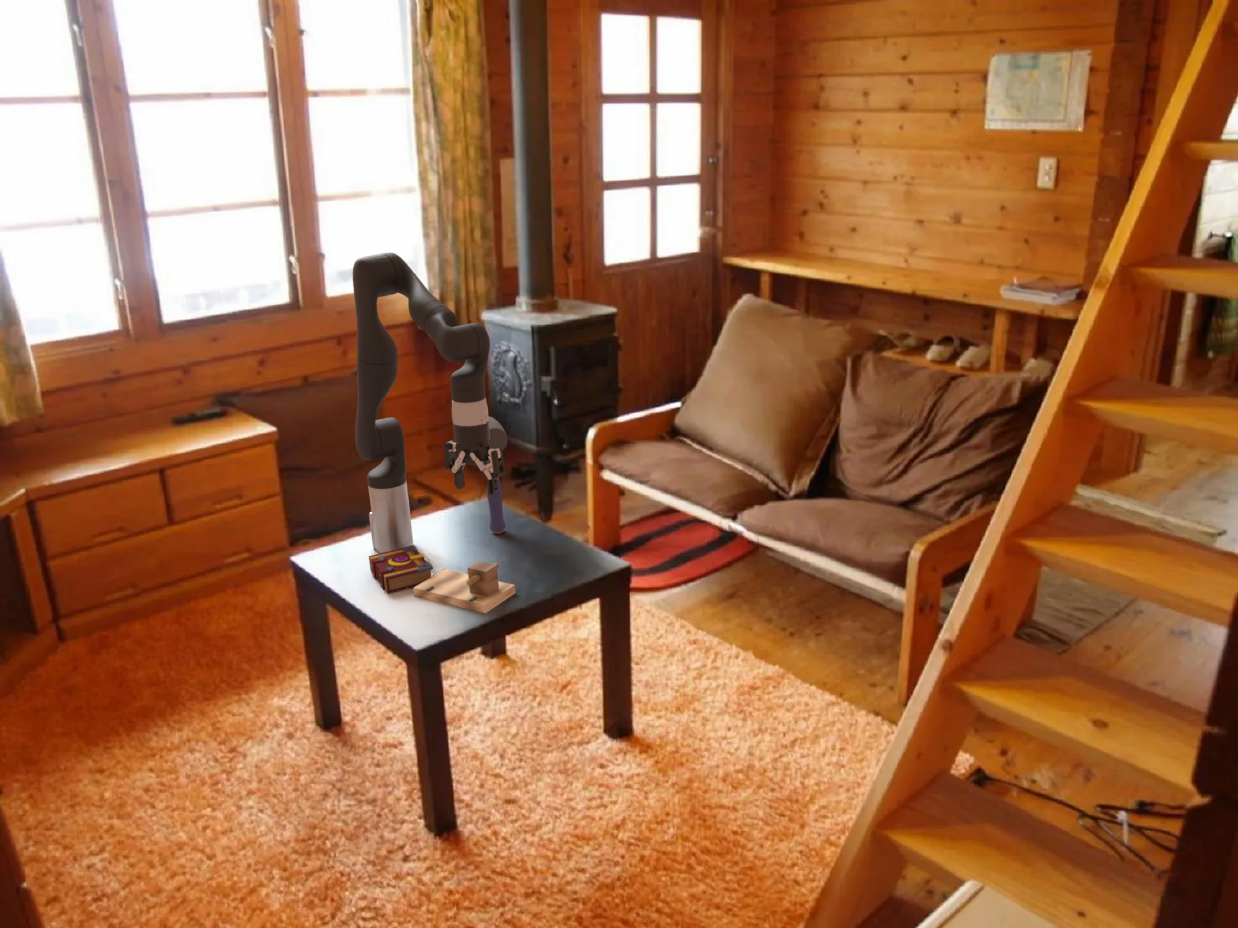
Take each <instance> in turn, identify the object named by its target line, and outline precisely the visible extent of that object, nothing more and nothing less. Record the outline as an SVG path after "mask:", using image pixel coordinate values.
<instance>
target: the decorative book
mask: <svg viewBox="0 0 1238 928" xmlns="http://www.w3.org/2000/svg"><path fill="white" fill-rule="evenodd" d="M368 560H369V568H370V569H369V570H370V572H371V573H372V577H373V579H374V580H377V582H379V584H380V588H381V589H382V590H383V591H384V590H385V591H386V592H387V594H391V593H395V592H400V591H404V590H408V589H411V588H412V589H413V588H414V587H416V586H417V585H419V584H421V583H422V582H424V581H426V580H427V579H429V578H431V577H432V571H433V570H434V566H433V565H432V564H431V563H430V561H427V560H426V559H425V555H424V554H423V553H420V552H419V550H418V549H417V547H416V546H415V545H414V544H413V545H411V546H407V547H403V548H398V550H393V551H389V552H385V553H377V554H371V555H368Z"/></svg>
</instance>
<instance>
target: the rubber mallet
mask: <svg viewBox="0 0 1238 928" xmlns="http://www.w3.org/2000/svg"><path fill="white" fill-rule="evenodd" d="M488 419H489V432H490V439H489V446H490V448H491V449H498V448H501V449H502V452H503V451H504V450H505V449H506V447H507V444H508V436H507V433H506V431H505V429H504V427H503V426H502V424H501V423H500V422H499V421H497V420H496V419H495V418H494V417H493V416H489V415H488ZM489 456H490V455H489ZM490 457H491V456H490ZM491 460H492V459H491ZM489 471H490V470H489ZM490 472H491V471H490ZM497 483H498V491H497V492H496V494H494V495H492V496H491V495H488V489H487V488H486V491H487V492H486V493H487V502H488V506H489V507H488V508H489V517H490V518H489V519H490V521H489V529H490V531H491V532H492V533H493V534H501V533H503V532H504V530H505V529H506V523H505V520H504V512H503V500H504V499H503V489H502V483H501V480H500V477H498V478H497Z"/></svg>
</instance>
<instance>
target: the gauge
mask: <svg viewBox="0 0 1238 928" xmlns="http://www.w3.org/2000/svg"><path fill="white" fill-rule="evenodd" d="M499 567H500V565H499V563H498V562H494V563H489V562H484V561H476V562H475V563H473V564H472V565H469V566H468V567H467V574H468V578H469V579H468V580H467V581H466V583H467V585H468V586H469V588H470V593H473V594H477V595H482V596H486V597H489V596H490V595H492V594H493V593H495V592H496V591H498V590H499V584H498V581H499V576H498V575H499V574H498V573H499V572H498V569H499Z"/></svg>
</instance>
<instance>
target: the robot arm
mask: <svg viewBox="0 0 1238 928" xmlns="http://www.w3.org/2000/svg"><path fill="white" fill-rule="evenodd" d="M352 286H353V287H352V288H353V295H354V296H353V297H354V306H355V317H356V374H357V377H356V378H357V379H356V380H357V407H356V416H355V431H354V432H355V435H354V437H355V439H354V440H355V447H356V451H357V453H358V455H359V457H360V458H361V459H362V460H364V461H374V460H379V459H383V458H384V459H383V460H382V461H381V463H379V464H378V465H377V466H376V467H374V468H372V469H371V470H370V471H369V472H368V474H367V477H366V479H367V487H368V495H369V501H370V510H371V511H370V512H368V513H369V514H368V518H369V519H368V520H369V527H370V533H371V534H370V535H371V542H372V543H371V544H372V548H373V549H374V550H375V551H376V552H378V554H380V553H385V552H389V551H393V550H398V548H403V547H407V546H411V545H414V537H413V529H412V527H413V526H412V519H411V511H410V504H409V503H410V502H409V493H408V484H407V478H406V477H407V476H406V475H407V464H406V460H407V459H406V445H405V444H406V443H405V436H404V435H405V434H404V429H403V427H402V425H401V423H400V421H399V420H398V419H397V418H395V417H393V416H392V417H385V418H381V419H377V417H378V412H379V409H380V407H381V405H382V403H383V401H384V400H385V398H386V397H387V395H388V394H389V392H390V391H391V389H392V387H393V386H394V383H395V381H396V379H397V378H398V377H397V376H398V370H399V369H398V367H399V365H398V362H399V360H398V359H399V354H398V353H399V352H398V345H397V344H396V342H395V340H394V339H393V337H392V336H391V334H390V333H389V331H388V330H387V329H386V328H385V326H384V325H383V323H382V322H381V320H380V316H379V313H378V299H379V298H383V297H388V296H391V295H392V296H393V295H395V294H400V295H403V296H404V297H405V298H407V300H408V301H407V302H408V312H409V315H410V317H411V319H412V321H413V323H415V325H417V326H418V327H419V328H420V329H421V330H422V331H423V332H425V333H426V334H427V335H428V336H429V337H430V338H431V341H432V342H433V343H434V345H435V348H436V349H437V350H438V353H439V355H440V356H441V357H443V359H444V360H446V361H449V362H452V363H454V362H455V363H457V362H462V361H465V362H464V364H463V365H462V367H460V368H459V369H457V370H455V371H453V373H452V374H451V375H450V381H449V383H450V391H451V392H450V394H451V421H452V430H453V439H452V440H450V441H447V442H445V443H444V444H443V448H444V451H443V454H444V467H445V469H446V470H449V471H451V472H452V473H453V479H454V486H455V487H456V489H457V490H462V489H464V488H465V487H466V481H465V479H466V478H465V471H464V467H466V466H472V467H475V468H479V470H480V472H483V473H484V475H485V476H486V478H487V479H486V490H487V489H488V495H491V496H492V495H494V494H496V492H497V491H498V483H497V478H498V477H499V478H500V477H501V476H504V475H505V474H506V469H505V462H504V452H503V451H502V449H501V448H498V449H491V448H490V446H489V439H490V432H489V419H488V416H489V408H488V404H487V398H486V387H485V376H486V372H487V364H488V360H489V354H490V349H491V341H490V336H489V333H488V331H487V329H486V328H485V327H484V326H483V325H482V324H480V323H479V322H472V323H467V324H463V325H459V319H458V316H457V315H456V313H455V312H454V311H453V310H452V309H451V308H449V307H448V306H447V305H446V304H444V303H443V302H442V301H440V300H439V299H438V298H437V297H435V295H433V293H431V291H430V290H429V289H428V288H427V287H426V285H424V283H423V282H422V281H421V280H420V278H419V277H418V276H417V274H416V273H415V272H414V271H413V269H412V268H411V267H410V265H408V263H407V262H406V261H405V260H404V259H403V258H402V257H401V256H399V255H398V254H396V253H395V252H383V253H378V254H377V253H376V254H371V255H366V256H365V255H364V256H361V257H359V258H356V260H355V261H354V264H353V267H352ZM457 454H458V457H457ZM489 455H490V456H491V457H490V456H489ZM491 459H492V460H491ZM485 463H486V464H485ZM489 470H490V471H491V472H490V471H489Z"/></svg>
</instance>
